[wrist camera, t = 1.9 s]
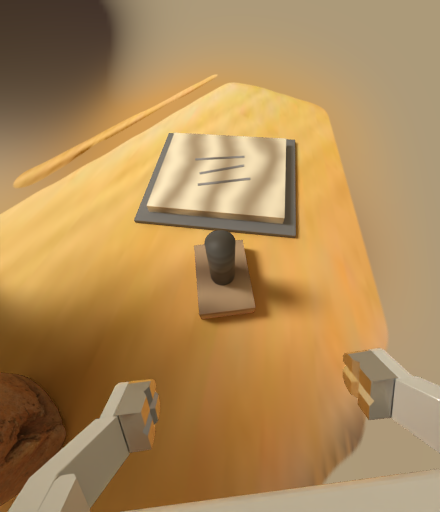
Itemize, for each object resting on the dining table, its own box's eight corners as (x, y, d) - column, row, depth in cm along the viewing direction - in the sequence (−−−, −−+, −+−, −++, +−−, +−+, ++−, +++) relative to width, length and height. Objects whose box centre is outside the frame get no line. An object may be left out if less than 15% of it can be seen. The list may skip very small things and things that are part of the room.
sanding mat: (135, 222, 39) (134, 220, 38) (169, 135, 49) (169, 133, 49) (294, 237, 36) (295, 235, 35) (294, 142, 47) (295, 139, 46)
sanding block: (253, 312, 31) (263, 283, 22) (201, 319, 31) (188, 292, 21) (241, 248, 36) (245, 201, 26) (196, 254, 35) (184, 209, 26)
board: (149, 211, 39) (146, 205, 37) (175, 139, 48) (174, 132, 46) (282, 224, 36) (284, 217, 35) (284, 145, 45) (286, 138, 44)
